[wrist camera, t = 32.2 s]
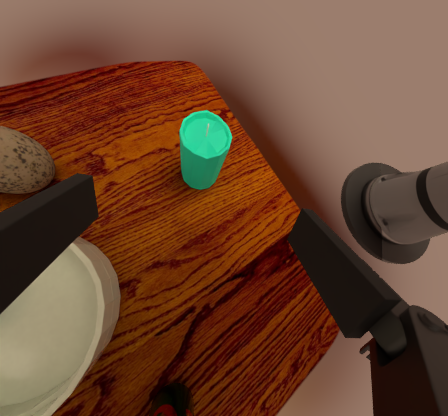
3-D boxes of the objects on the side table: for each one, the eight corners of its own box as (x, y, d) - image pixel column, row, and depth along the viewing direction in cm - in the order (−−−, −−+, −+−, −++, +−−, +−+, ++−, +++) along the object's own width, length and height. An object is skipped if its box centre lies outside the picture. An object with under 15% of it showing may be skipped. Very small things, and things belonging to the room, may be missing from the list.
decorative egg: (10, 208, 23) (-109, 177, 14) (3, 159, 25) (-111, 101, 15) (73, 193, 25) (6, 158, 16) (64, 149, 26) (-4, 92, 17)
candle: (181, 155, 30) (179, 96, 19) (216, 158, 31) (234, 104, 20) (181, 189, 29) (178, 147, 17) (217, 190, 30) (237, 151, 19)
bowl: (143, 251, 25) (132, 250, 20) (82, 423, 20) (45, 483, 15) (-10, 215, 23) (-68, 203, 18) (-129, 401, 17) (-265, 466, 12)
